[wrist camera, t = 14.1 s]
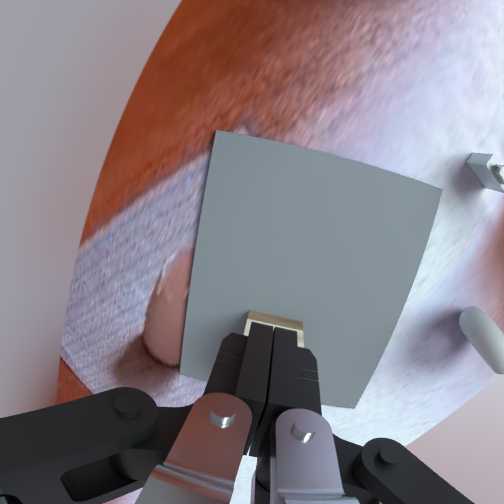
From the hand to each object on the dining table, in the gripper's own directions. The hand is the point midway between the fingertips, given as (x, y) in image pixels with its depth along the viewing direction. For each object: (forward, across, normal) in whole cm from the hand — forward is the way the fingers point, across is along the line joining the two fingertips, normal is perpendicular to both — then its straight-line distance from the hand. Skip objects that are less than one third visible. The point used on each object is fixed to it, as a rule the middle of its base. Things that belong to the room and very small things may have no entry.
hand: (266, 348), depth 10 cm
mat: (+23, -4, +8) cm, 25 cm away
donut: (+23, -27, +7) cm, 36 cm away
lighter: (+23, -22, -10) cm, 33 cm away
